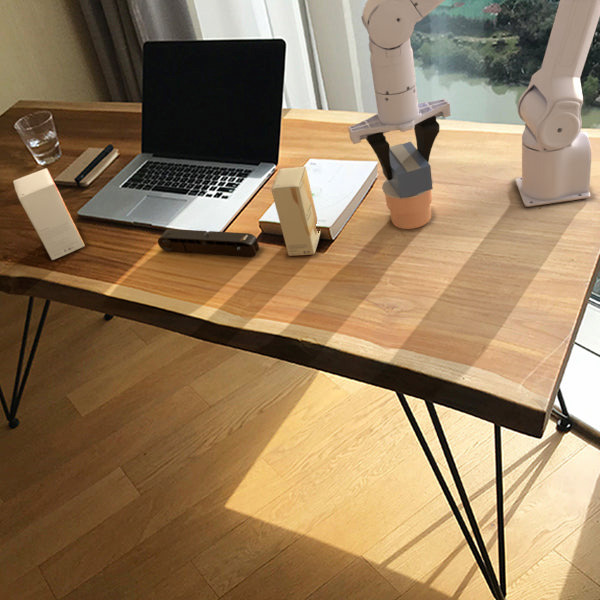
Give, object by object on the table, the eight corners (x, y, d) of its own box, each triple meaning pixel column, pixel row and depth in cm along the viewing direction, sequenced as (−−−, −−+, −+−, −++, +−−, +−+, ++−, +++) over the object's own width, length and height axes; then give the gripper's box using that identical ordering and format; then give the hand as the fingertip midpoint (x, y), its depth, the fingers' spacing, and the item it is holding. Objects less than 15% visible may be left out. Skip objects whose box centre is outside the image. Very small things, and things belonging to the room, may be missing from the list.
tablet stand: (160, 251, 115) (154, 237, 113) (168, 242, 117) (162, 228, 115) (254, 258, 108) (249, 242, 106) (260, 248, 109) (256, 233, 107)
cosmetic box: (314, 255, 105) (298, 187, 97) (288, 257, 106) (269, 190, 98) (321, 231, 109) (306, 164, 102) (295, 233, 111) (278, 167, 103)
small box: (86, 246, 121) (54, 183, 113) (51, 261, 120) (17, 198, 112) (77, 227, 127) (46, 166, 119) (44, 241, 126) (11, 180, 118)
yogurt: (433, 201, 109) (429, 167, 106) (438, 227, 104) (435, 193, 100) (385, 208, 111) (381, 175, 107) (388, 235, 105) (383, 201, 101)
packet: (382, 173, 106) (379, 150, 103) (413, 164, 106) (410, 140, 104) (400, 198, 100) (397, 174, 97) (432, 189, 100) (430, 164, 97)
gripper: (352, 111, 90) (367, 198, 98) (456, 80, 91) (461, 169, 99) (339, 92, 96) (353, 176, 104) (436, 63, 96) (443, 149, 105)
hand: (405, 171), depth 102 cm, fingers closed on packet, 5 cm apart
